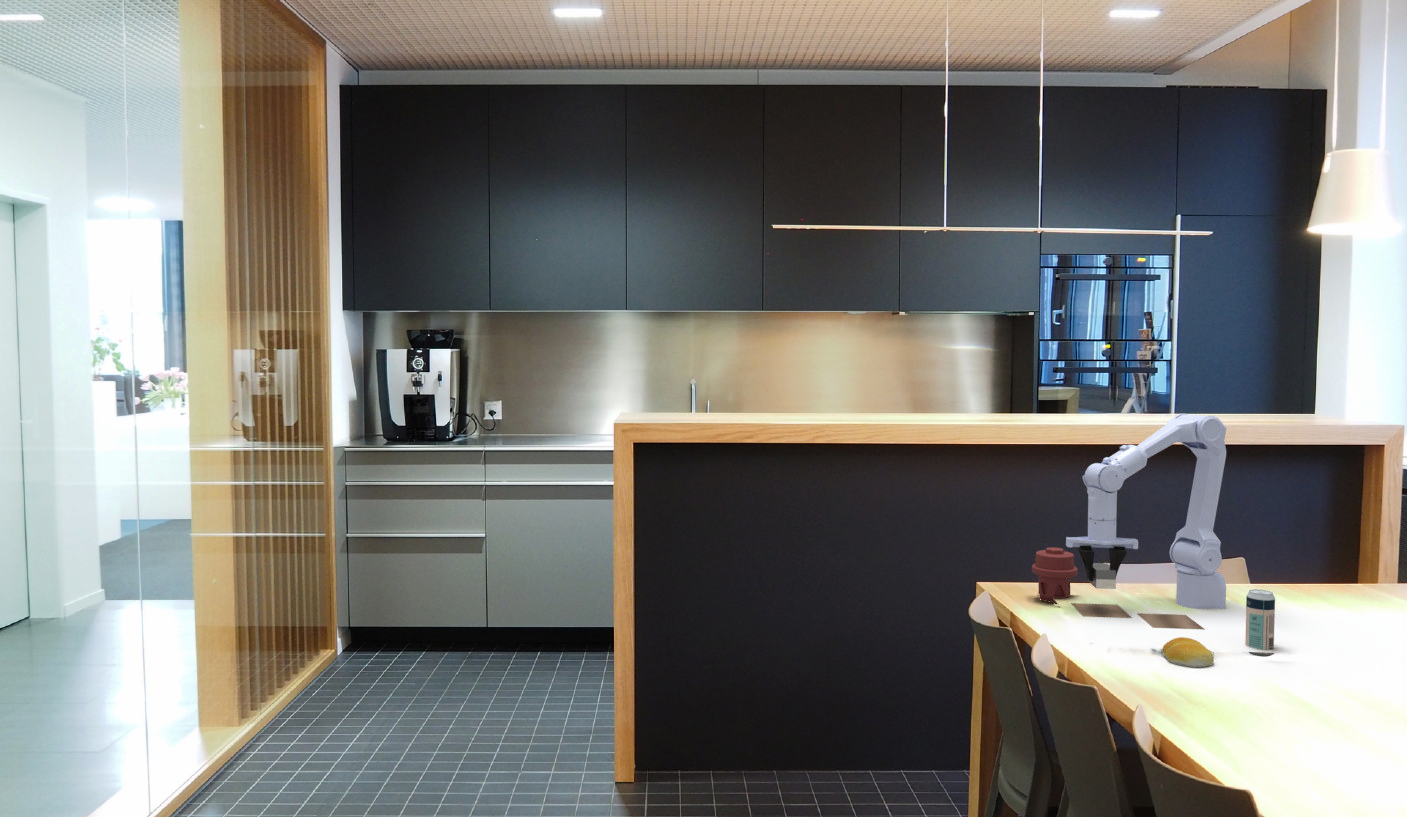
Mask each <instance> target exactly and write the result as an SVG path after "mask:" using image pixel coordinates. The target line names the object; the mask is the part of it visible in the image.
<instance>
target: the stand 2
mask: <svg viewBox="0 0 1407 817" xmlns="http://www.w3.org/2000/svg"><path fill="white" fill-rule="evenodd" d="M1136 615H1138V616H1139V617H1140V618H1141V619H1142V620H1144V621H1145V623H1147V624H1149V626H1150V627H1152V628H1154V629H1155V628H1156V629H1181V630H1206V629H1205V628H1204V627H1203V626H1202V625H1200V624H1199V623H1198V622H1196V621H1195V620H1193V619H1192V618H1191V617H1189V616H1188V615H1187V614H1175V613H1174V614H1172V613H1171V614H1169V613H1145V612H1144V613H1140V612H1139V613H1138V612H1137V613H1136Z"/></svg>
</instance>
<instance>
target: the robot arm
mask: <svg viewBox="0 0 1407 817" xmlns="http://www.w3.org/2000/svg"><path fill="white" fill-rule="evenodd" d="M1226 432H1227V427H1226V426H1225V425H1224V423H1223V422H1222V420H1220V418H1218V416H1215V415H1201V414H1199V415H1198V414H1188V413H1179V414H1177V415H1176V416H1174V417H1173V418H1170V419H1168V420H1167V422H1166V423H1165V425H1163V426H1162V427H1161V428H1159V429H1158V430H1157V431H1155V432H1153V434H1151V435H1150V436H1148V437H1147V438H1145V439H1144V440H1143V441H1142V442H1140V443H1138V445H1135V444H1134V445H1133V444H1127V445H1126V444H1123V445H1121V446H1119V450H1118V451H1117V452H1115V453H1113V454H1112V455H1111V456H1109V457H1107V456H1106V457H1104V458H1103V459H1102V461H1101V463H1099V462H1095V463H1092V464H1090V465H1089V466H1088V467H1087V468H1086V470H1085V472H1084V475H1082V481H1083V484H1084V485H1085V486H1086V493H1087V494H1088V496H1087V497H1088V499H1087V505H1088V506H1087V510H1088V511H1087V536H1073V537H1072V536H1070V537H1069V536H1066V538H1065V546H1066V547H1067V548H1077V551H1078V553H1079V555H1080V557H1081V560H1082V563H1083V565H1084V568H1085V573H1086V580H1087V581H1088V580H1089V581H1093V563H1094V557H1095V551H1093V548H1101V549H1103V548H1105V549H1108V554H1109V566H1111V567H1112V568H1113V569H1115V570H1116V577H1117V575H1118V573H1119V569H1120V567H1121V564H1122V563H1123V561H1124V559H1125V558H1126V556H1127V553H1128V551H1127V549H1132V550H1138V549H1139V540H1138V539H1136V538H1126V537H1125V538H1124V537H1117V512H1118V511H1117V507H1118V505H1117V503H1118V502H1117V501H1118V500H1117V499H1118V496H1117V495H1118V491H1119V490H1120V489H1121V488H1122V487H1123V484H1124V481H1125V480H1126V479H1128V478H1129V477H1131V476H1132V475H1134V474H1136V473H1138V472H1139V471H1140V470H1142V469H1143V468H1145V467H1146V466H1147V464H1148V463H1147V462H1148V459H1149V458H1151V457H1152V456H1154V455H1156V454H1158V453H1160V452H1162V451H1164V450H1165V449H1168V447H1171V446H1172V445H1174V444H1176V443H1181V444H1182V445H1184V446H1185V447H1187V448H1188V449H1190V450H1191V452H1192V453H1193V454H1194V455H1195V457H1196V463H1195V470H1194V476H1193V480H1192V487H1191V493H1190V496H1189V497H1190V499H1189V504H1188V509H1187V514H1186V515H1187V516H1186V521H1185V525H1184V527H1182V528H1181V529H1180V530H1178V531H1177V532H1176V533H1175V534H1176V535H1175V538H1174V541H1173V543H1172V544H1171V546H1170V548H1169V558H1170V560H1171V561H1172V563H1174V568H1175V569H1176V590H1175V591H1176V592H1175V596H1176V597H1175V598H1176V599H1175V600H1176V601H1175V603H1176V604H1177V605H1178V606H1181V607H1185V608H1188V609H1197V610H1198V609H1202V610H1203V609H1217V610H1218V609H1220V610H1222V609H1223V610H1226V607H1227V606H1226V604H1227V602H1226V601H1227V583H1226V579H1225V576H1224V575H1223V574H1222V572H1220V571H1219V572H1217V571H1218V569H1220V567H1221V564H1222V561H1223V560H1222V557H1223V556H1222V553H1221V544H1222V542H1221V540H1220V539H1219V537H1217V534H1216V533H1215V532H1214V527H1215V521H1216V516H1217V509H1218V505H1219V504H1218V503H1219V498H1220V492H1221V488H1222V481H1223V475H1224V469H1225V464H1226V457H1227V448H1226V443H1225V441H1226V439H1225V438H1226V434H1227V433H1226Z"/></svg>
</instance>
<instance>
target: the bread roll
mask: <svg viewBox="0 0 1407 817" xmlns="http://www.w3.org/2000/svg"><path fill="white" fill-rule="evenodd" d="M1162 653H1163V656H1164V657H1165V658H1166V659H1167V661H1168V662H1170V663H1171V664H1174V665H1178V666H1182V667H1183V666H1184V667H1190V668H1205V667H1209V666H1211V665H1213V663H1214V660H1215V657H1214V654H1213V652H1212V651H1211V650H1210V649H1209V648H1207V647H1206V646H1205V644H1203V643H1201V642H1200V641H1197V640H1195V639H1192V638H1189V637H1183V636H1181V637H1179V636H1178V637H1176V638H1173V639H1170V640H1169V641H1167V642H1166V643H1165V644H1164V645H1163V646H1162Z"/></svg>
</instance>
